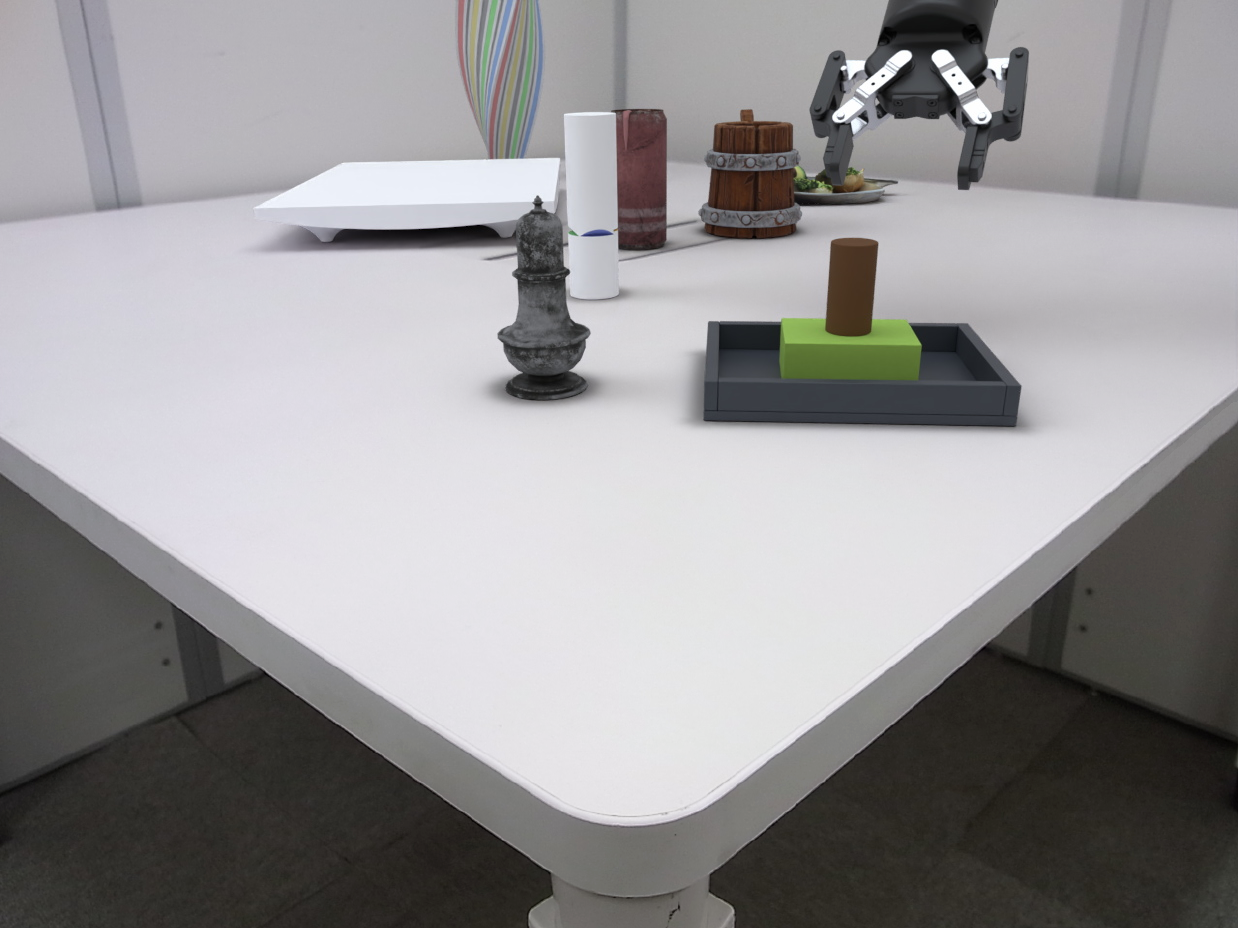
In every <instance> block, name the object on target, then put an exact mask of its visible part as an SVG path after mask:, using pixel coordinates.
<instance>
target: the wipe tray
mask: <svg viewBox="0 0 1238 928" xmlns="http://www.w3.org/2000/svg"><path fill="white" fill-rule="evenodd" d="M908 323H909V325H910V326H911V328H912V330H913V331H914V333H915V335H916V337H917V338H918V340H919V342H920V343H921V345H922V348H921V358H920V367H919V377H918V380H856V379H785V378H781V371H780V363H779V358H780V337H781V321H763V320H762V321H757V320H756V321H755V320H754V321H753V320H752V321H751V320H750V321H749V320H720V321H718V320H709V321H707V330H706V347H705V348H706V349H705V362H704V363H705V364H704V380H703V421H716V422H717V421H718V422H719V421H722V422H724V421H726V422H770V423H771V422H772V423H773V422H776V423H832V424H833V423H834V424H879V425H880V424H885V425H886V424H888V425H889V424H890V425H938V426H941V425H944V426H945V425H947V426H993V427H994V426H995V427H997V426H998V427H1003V426H1004V427H1016V426H1017V420H1018V414H1019V406H1020V400H1021V393H1022V384H1021V383H1020V382H1019V381H1018V380H1017V379H1016V377H1014V376H1013V374H1012V373H1011V372H1010V371H1009V370H1008V368H1007V367H1006V366H1005V364H1003V362H1001V360H1000V359H999V358H998V357H997V356H996V355H995V353H994V352H993V351H992V350H991V348H989V346H988V345H987V344H986V343H985V341H983V339H982V338H981V337H980V336H979V334H978V333H977V332H976V331H975V330H974V329H973V328H972V326H971V325H970V324H969V323H967V322H908Z"/></svg>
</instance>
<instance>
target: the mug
mask: <svg viewBox="0 0 1238 928" xmlns="http://www.w3.org/2000/svg"><path fill="white" fill-rule="evenodd" d="M739 118H740V121H739V120H738V121H723V122H718V123H715V124H714V125H713V127H714V128H713V143H712V148H711V149H708V150H707V151H706V154H705V155H704V157H703V160H704V162H705V165H706V166H707V168H711V169H710V177H709V178H710V179H709V188H708V198H707V201H706V202H704V203H703V204H702V205H701V208H700V209H699V210H698V212H697V213H698V216H699V217H700V219H701V221H702V222H703V223H704V231H705V232H706V233H708V234H710V235H715V236H716V237H717V236H718V237H722V238H734V239H753V237H756V238H757V239H768V238H769V239H770V238H771V239H772V238H777V237H784V236H789V235H791V234H794V232H796V231H797V223H798V222H800V221H801V219H802V217H803V211H802V209H801V205H798V204H797V203H795V202H794V175H793V168H794V167H796V166H798V165H799V166H800V162H801V160H802V157H801V155H800V154H799V150H797V148H794V125H793V124H792V123H791V122H787V121H777V120H775V121H774V120H755V116H754V111H753V109H751V108H750V109H749V108H748V109H741V110H740V112H739Z"/></svg>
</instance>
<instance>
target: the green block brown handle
mask: <svg viewBox="0 0 1238 928" xmlns="http://www.w3.org/2000/svg"><path fill="white" fill-rule="evenodd" d="M829 249H830V250H829V264H828V279H827V295H826V309H825V310H826V311H825V312H826V313H825V318H821V317H820V318H816V317H811V318H810V317H807V318H805V317H781V320H780V322H781V337H780V358H779V363H780V371H781V378H785V379H856V380H918V377H919V367H920V358H921V348H922V345H921V343H920V342H919V340H918V338H917V337H916V335H915V333H914V331H913V330H912V328H911V326H910V325H909V323H910V322H909V321H908V320H907V319H901V318H900V319H896V318H895V319H894V318H893V319H892V318H873V315H874V303H875V290H876V277H877V268H878V267H877V265H878V256H879V255H878V254H879V253H878V252H879V241H877V240H876V239H871V238H865V237H840V238H835V239H832V240H830V247H829Z"/></svg>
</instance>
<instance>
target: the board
mask: <svg viewBox="0 0 1238 928" xmlns="http://www.w3.org/2000/svg"><path fill="white" fill-rule="evenodd" d="M561 166H562V164H561V157H537V158H533V157H532V158H530V157H529V158H525V159H488V158H487V159H448V160H446V159H445V160H443V159H441V160H407V161H406V160H402V161H401V160H398V161H356V162H355V161H354V162H353V161H351V162H341V163H339V164H337V165H335V166H334V167H331V168H329V169H328V170H325V171H323V172H321V173H320V174H318V175H316V176H313V177H312V178H309V179H308V180H306V181H303V182H302V183H300V184H298V185H296V186H294V187H292V188H290V189H288V190H286V191H284V192H282V193H280V194H279V195H277V196H274V197H272V198H270V199H268V200H266V201H264V202H262V203H261V204H259V205H256V206H255V207H252V212H253V218H254V221H256V222H258V221H259V222H266V223H273V224H282V225H291V226H298V227H301V228H303V229H306V230H308V231H309V232H310V233H312V234H314V235H315V236H316V237H317V238H318V239H319V241H320V242H321V243H329V242H333V241H334V238H335V237H336V236H337V235H338V233H340V232H342V231H343V230H346V229H347V230H419V229H420V230H422V229H439V228H454V227H466V226H468V227H469V226H477V225H480V226H485V227H488V228H490V229H492V230H494V231H495V232H496V233H497V234H498V235H499V237H500V238H511V237H512V236H513V234H514V233H515V232H516V223H517V221H518V219H519V218H520V217H522V216H523V215H524V214H526V213H529V212H530V211H531V210H532V209H534V204H533V203H532V202H534V199H535V198H536V196H537V195H538V196H539V198H541V199H542V201H543V202H544V203H543V204H542V209H546V211H547V212H550V213H553V214H555V213H556V211H557V208H558V203H559V197H560V187H561V185H560V184H561V169H562V168H561Z"/></svg>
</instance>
